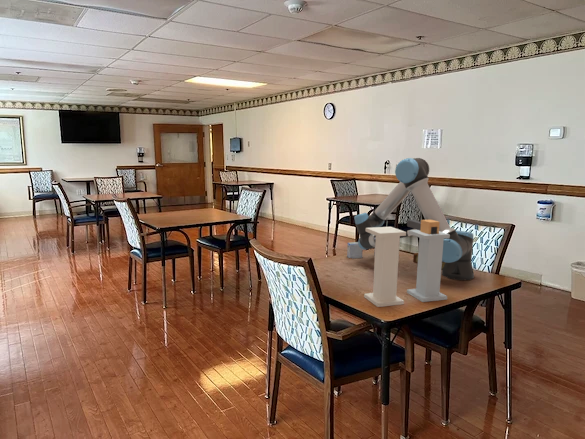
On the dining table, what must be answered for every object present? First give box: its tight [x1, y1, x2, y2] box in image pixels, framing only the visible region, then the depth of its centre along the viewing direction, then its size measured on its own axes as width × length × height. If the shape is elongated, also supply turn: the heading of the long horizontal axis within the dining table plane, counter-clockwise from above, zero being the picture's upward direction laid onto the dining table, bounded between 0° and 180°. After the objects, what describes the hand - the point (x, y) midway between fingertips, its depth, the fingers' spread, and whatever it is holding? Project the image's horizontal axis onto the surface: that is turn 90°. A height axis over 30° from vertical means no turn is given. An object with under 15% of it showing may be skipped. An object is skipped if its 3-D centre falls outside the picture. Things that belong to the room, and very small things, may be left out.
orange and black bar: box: [406, 219, 440, 234], centre depth 189 cm, size 5×18×5 cm, turn 18°
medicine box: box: [346, 241, 363, 259], centre depth 250 cm, size 8×4×9 cm, turn 104°
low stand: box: [406, 229, 450, 303], centre depth 186 cm, size 12×14×28 cm
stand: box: [363, 226, 406, 308], centre depth 179 cm, size 12×14×30 cm
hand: (405, 232), depth 204 cm, fingers open, 13 cm apart
